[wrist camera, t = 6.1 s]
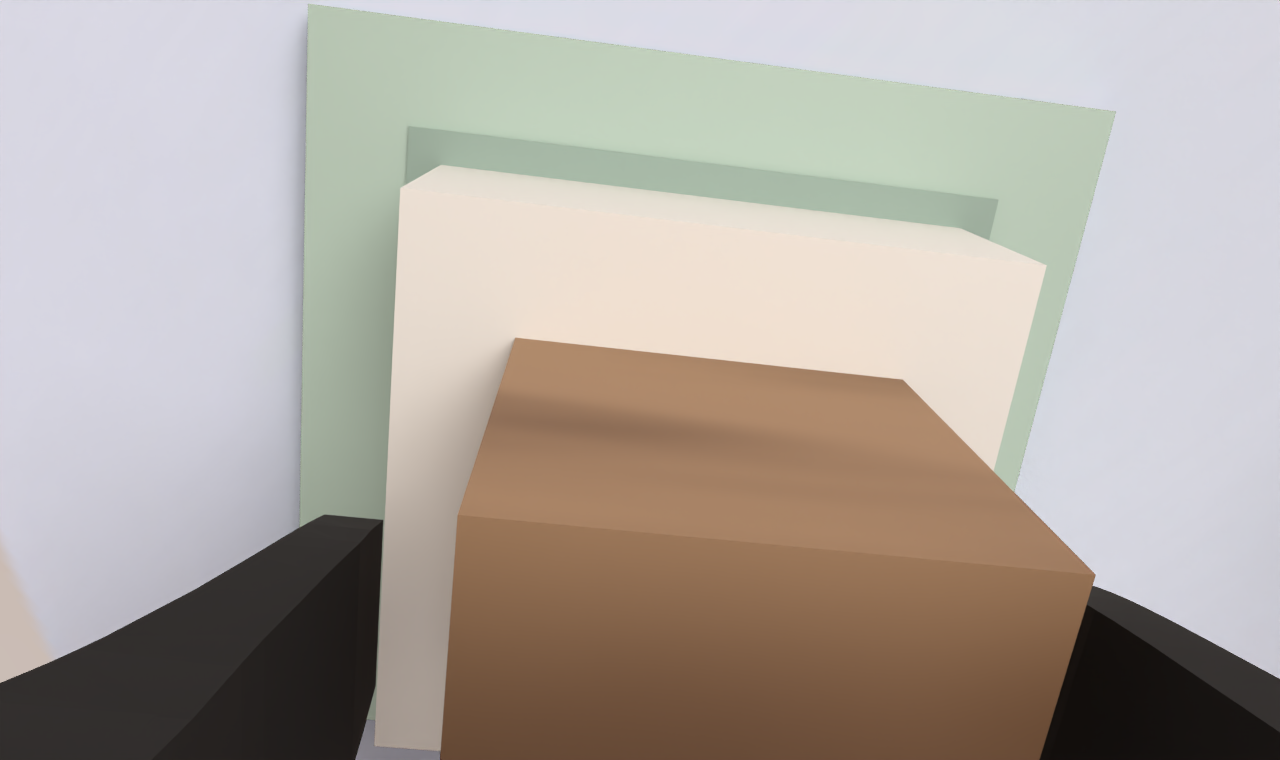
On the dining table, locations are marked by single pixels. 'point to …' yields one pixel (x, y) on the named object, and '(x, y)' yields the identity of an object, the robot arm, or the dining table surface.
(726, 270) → the block
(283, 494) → the dining table surface
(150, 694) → the robot arm
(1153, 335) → the dining table surface
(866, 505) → the walnut cube
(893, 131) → the board
